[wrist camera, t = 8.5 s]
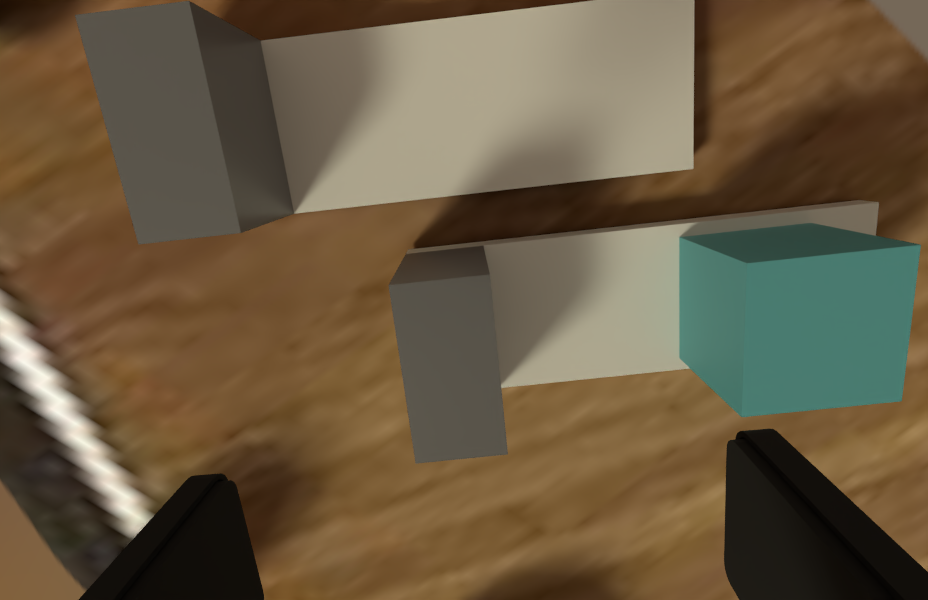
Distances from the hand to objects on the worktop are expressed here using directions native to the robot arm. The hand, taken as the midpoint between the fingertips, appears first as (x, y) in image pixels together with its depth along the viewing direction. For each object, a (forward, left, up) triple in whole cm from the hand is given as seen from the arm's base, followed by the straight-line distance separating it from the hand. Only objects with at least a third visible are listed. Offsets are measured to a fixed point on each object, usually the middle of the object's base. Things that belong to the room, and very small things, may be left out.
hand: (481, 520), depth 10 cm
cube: (-11, 0, -12) cm, 16 cm away
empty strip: (0, -8, -13) cm, 15 cm away
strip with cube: (-7, 0, -13) cm, 15 cm away
